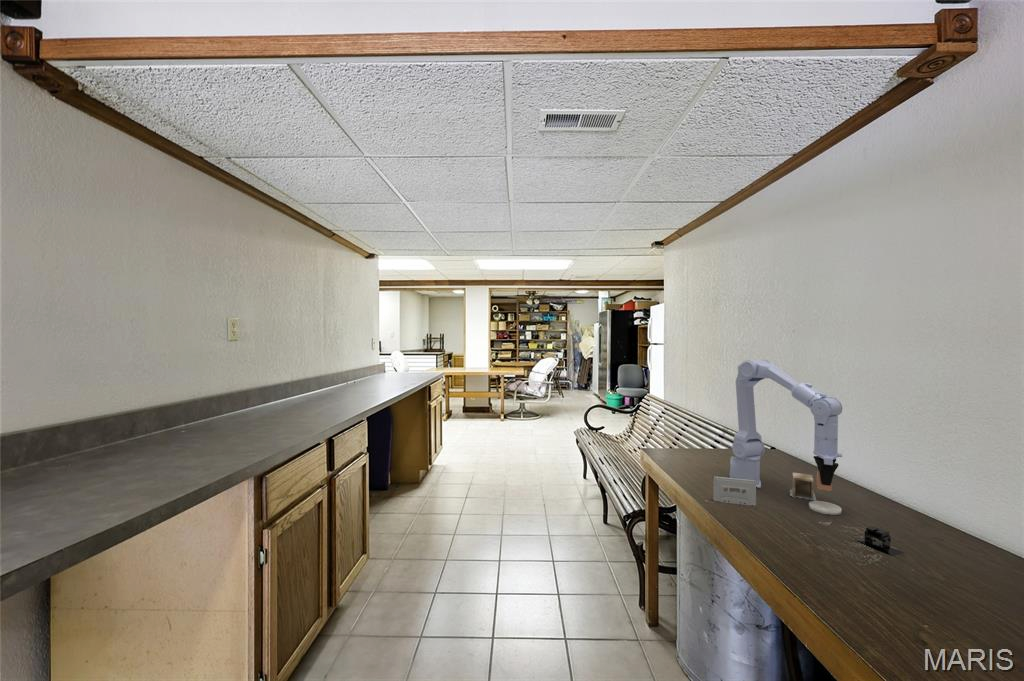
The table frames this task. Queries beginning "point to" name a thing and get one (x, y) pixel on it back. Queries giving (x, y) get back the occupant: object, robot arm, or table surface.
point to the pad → (803, 495)
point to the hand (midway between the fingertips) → (825, 482)
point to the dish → (825, 507)
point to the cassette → (733, 496)
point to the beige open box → (802, 484)
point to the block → (819, 484)
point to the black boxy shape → (880, 546)
